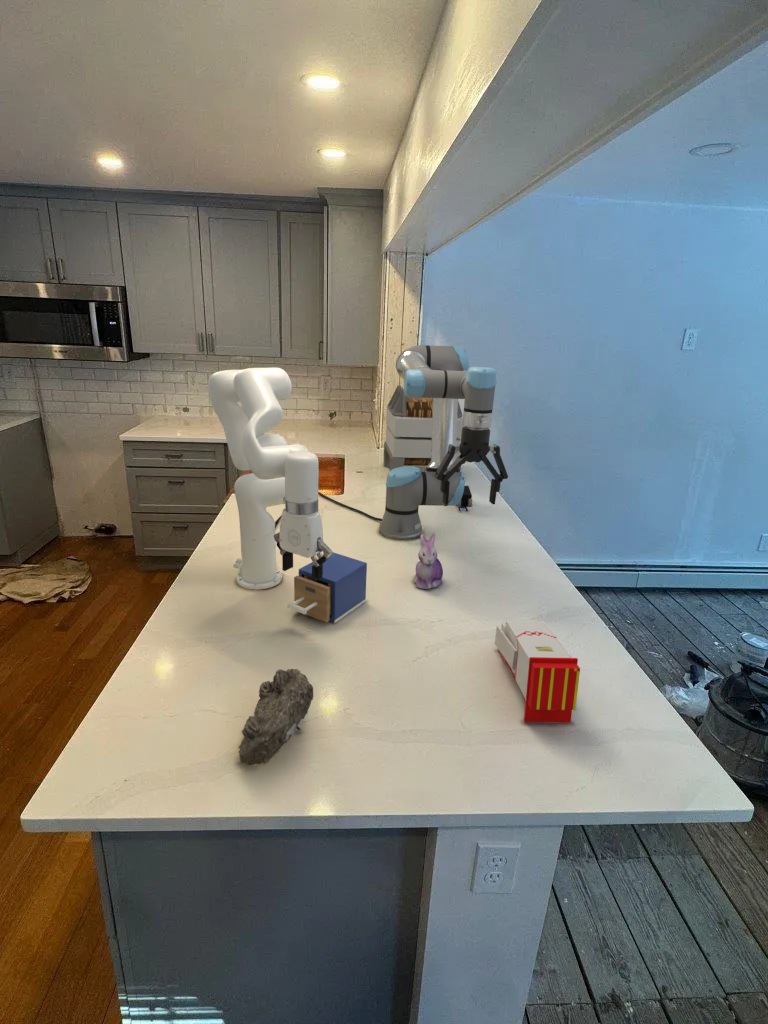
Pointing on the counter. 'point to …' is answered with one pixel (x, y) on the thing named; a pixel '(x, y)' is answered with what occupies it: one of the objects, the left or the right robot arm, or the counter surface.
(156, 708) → the counter surface
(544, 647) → the toy
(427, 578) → the figurine
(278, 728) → the fossil
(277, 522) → the feather
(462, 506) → the figurine character
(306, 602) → the drawer
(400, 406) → the grey wooden crate
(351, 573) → the cabinet
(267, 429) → the left robot arm
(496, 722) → the counter surface
